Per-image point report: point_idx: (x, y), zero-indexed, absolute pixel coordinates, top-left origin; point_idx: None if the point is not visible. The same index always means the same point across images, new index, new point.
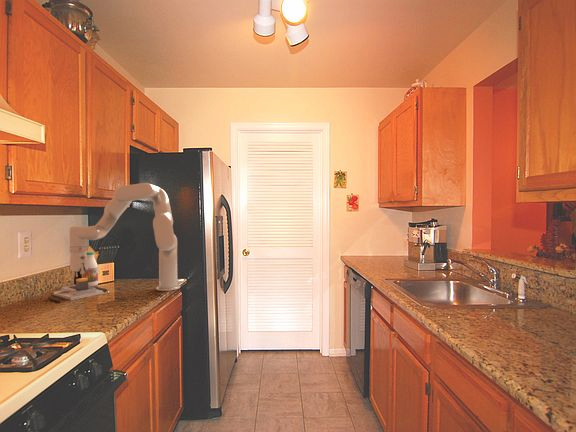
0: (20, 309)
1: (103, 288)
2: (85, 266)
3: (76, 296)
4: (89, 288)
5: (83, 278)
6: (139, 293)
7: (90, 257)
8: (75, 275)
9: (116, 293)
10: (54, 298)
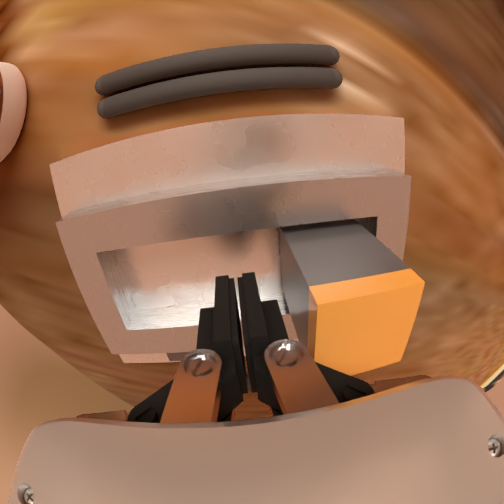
0: None
1: (278, 49)
2: (495, 454)
3: None
4: (367, 216)
5: (370, 324)
6: (501, 38)
7: None
8: (233, 411)
9: (443, 70)
10: None
